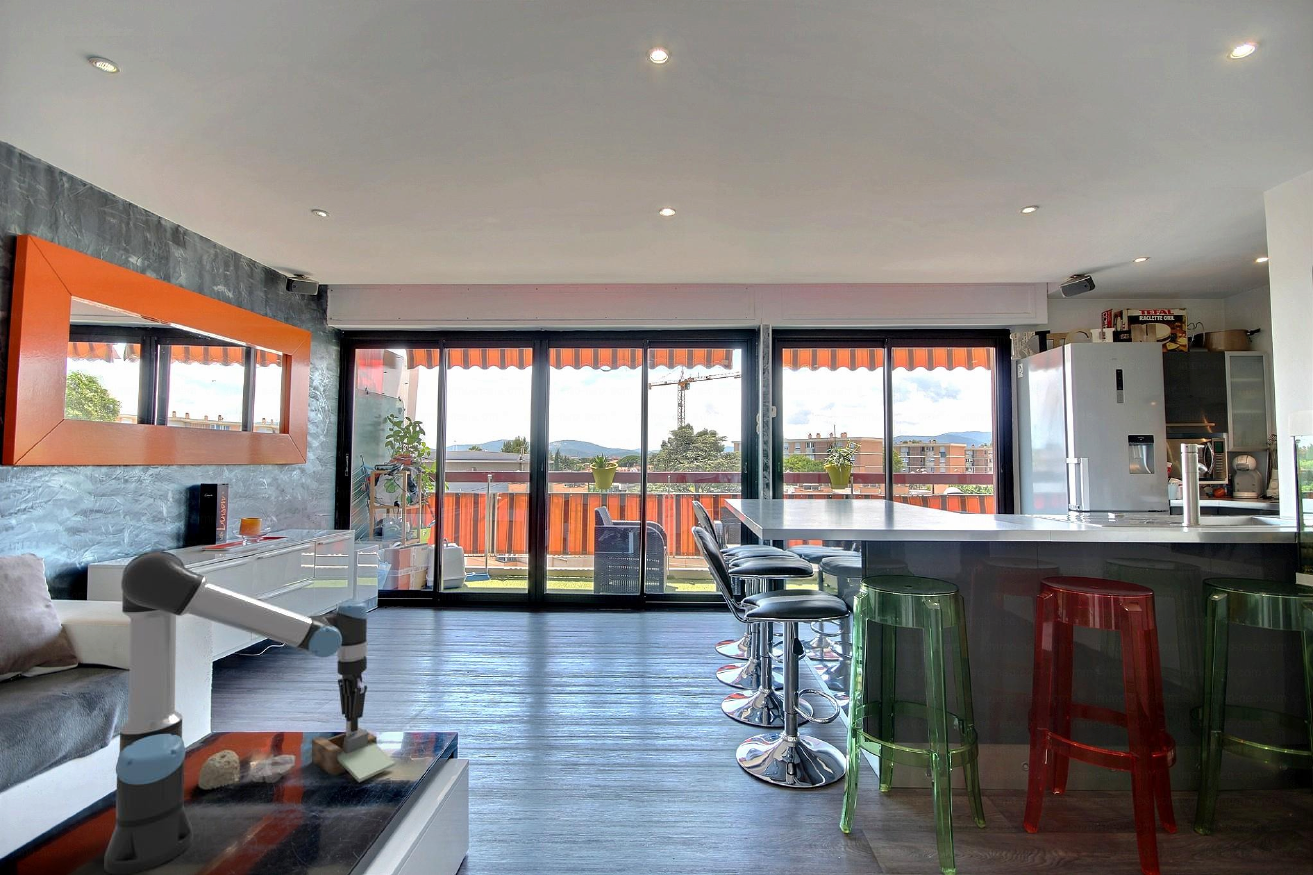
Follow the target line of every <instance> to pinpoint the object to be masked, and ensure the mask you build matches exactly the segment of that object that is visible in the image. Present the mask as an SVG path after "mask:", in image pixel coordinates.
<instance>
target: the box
mask: <svg viewBox="0 0 1313 875" xmlns="http://www.w3.org/2000/svg"><path fill="white" fill-rule="evenodd" d="M362 730H363V729H362V728H360V727H359V726H358V732H360V731H362ZM344 737H346V732H344V733H341V734H337V735H335V736H332V737H329V738H325V737H323V736H317V737H314V738H311V762H312V763H313V764H315V765H316V766H317V767H319V768H320V769H321V770H323V771H324V772H326V773H327V774H329V775H330V776H333V777H335V776H338V775H340V774H343V773H346V772H349V771H348V770H347V769H346V768H345V767H344V766H343V765H342V764H341V763H340V762H339V761H338V760H337V759H336V755H337V754H339V753H342V752H343V744H344ZM377 740H378V739H377V736H376V735H373V734H372V733H370V732H369V735H368V743H369V742H372V741H373V742H374V743H375V744H376V745H377V744H378V742H377ZM377 746H378V745H377Z"/></svg>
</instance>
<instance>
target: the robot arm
mask: <svg viewBox="0 0 1313 875" xmlns="http://www.w3.org/2000/svg"><path fill="white" fill-rule="evenodd" d="M120 583H121V585H120V587H121V590H122V601H121V602H122V604H121V605H122V606H121V609H122V610H121V612H122V613H123V614H124V615H125V616H127V617H128V618H129V619H130V629H129V630H130V632H129V635H130V636H129V637H130V638H129V684H128V689H129V690H128V692H129V693H128V720H127V721H126V722H124V724H123V725H122V726H121V727H119V728H120V729H119V754H118V758H117V761H116V765H115V773H116V793H115V794H116V795H115V796H116V798H115V800H116V801H115V802H116V803H115V806H116V807H115V827H114V830H113V833H112V835H111V838H110V840H109V843H108V846H107V848H106V851H105V854H104V857H103V860H104V861H103V862H104V863H103V869H104V871H106V872H107V873H109V874H112V875H127V874H128V875H129V874H134V873H138V872H141V871H146V870H149V869H152V868H154V867H155V868H156V867H158V866H160V865H162V864H165V863H167V862H168V861H170V860H172V859H175V858H176V857H177V856H179V855H180V854H182V853H183V852H185V851H186V850H187V849H188V848H189V847H190V845H191V844H192V843H193V841H194V840H193V838H194V828H193V825H192V823H191V820H190V819H189V816H188V814H187V811H186V809H185V807H184V806H185V804H184V801H185V800H184V799H185V756H186V746H185V742H184V740H183V715H182V713H179V712H178V711H176V709H175V708H176V706H175V705H176V702H175V701H176V657H177V656H176V654H177V652H176V651H177V650H176V648H177V647H176V644H177V642H176V640H177V639H176V638H177V616H179V617H181V616H184V615H186V614H189V615H192V616H196V617H199V618H201V619H205V620H209V621H211V622H214V623H217V624H221V625H224V626H227V627H231V628H233V629H236V630H240V631H243V632H247V633H250V634H253V635H256V636H260V637H262V638H265V639H269V640H272V641H274V642H275V641H276V642H278V643H282V644H285V645H288V646H291V647H292V648H297V649H300V650H303V651H306V652H308V653H310V654H312V655H313V656H316V657H318V658H328V657H331V656H334V654H337V656H336V657H337V658H336V659H338V660H337V669H336V670H337V674H338V675H339V676H340V675H341V676H342V677H341V678H339V679H337V684H338V688H339V697H340V708H341V715H342V716H344V718H345V721H346V722H345V733H346V737H347V736H349V735H352V734H354V733H357V732H358V727H359V719H360V718H363V715H364V709H365V701H366V693H367V690H368V685H366V684H365V685H364V684H363V677H362V676H363V675H362V674H363V672H365V671H366V670H367V667H368V663H367V661H368V659H367V656H366V655H368V654H367V652H368V651H367V650H368V647H367V646H368V642H367V638H368V637H367V634H368V633H367V631H368V629H367V627H368V614H367V613H368V612H367V611H368V610H367V604H366V603H365V602H363V601H348V602H344V603H340V604H339V605H338V606H337V610H336V612H331V613H326V614H317V615H316V614H315V615H310V616H306V615H303V614H299V613H297V612H294V611H291V610H289V609H285V608H282V607H280V606H276V605H274V604H272V603H269V602H265V601H262V600H259V599H257V598H254V597H250V596H248V595H245V594H243V593H239V592H237V591H234V590H230V589H228V588H225V587H222V586H219V585H217V584H213V583H211V582H209V581H208V580H207V578H206V576H205V575H202V574H200V573H196V572H194V571H192V570H190V569H189V568H187V567H185V564H184V562H183V560H182V559H181V558H180V557H178V556H177V555H176V554H174V553H172V552H169V551H164V550H161V551H160V550H158V551H157V550H153V551H146V552H144V553H140V554H139V555H137V556H136V557H134V558H132V560H130V561H129V562H128V563H127V565H126V566H125V567H124V569H123V571H122V578H121V581H120Z"/></svg>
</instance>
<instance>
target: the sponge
mask: <svg viewBox="0 0 1313 875" xmlns="http://www.w3.org/2000/svg"><path fill="white" fill-rule="evenodd" d="M200 768H201V769H200V771H199V772H198V776H199V777H198V787H199V788H200V789H203V790H209V789H210V790H213V789H212V788H214V789H217V787H218V788H221V787H220V786H222V787H225V786H228V785H227V784H229V785H231V784H233V783H236V782H237V780H238V779H239V778H240V760H239V755H237V753H236V752H235V751H232V750H230V749H226V750H222V751H220V752H217V753H215V754H212V755H211V756H210V757H209V758H207V759H206V760H205V761H204V763H203V764H202V765H201V767H200ZM236 779H237V780H236ZM230 783H231V784H230ZM224 785H225V786H224Z"/></svg>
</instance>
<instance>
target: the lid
mask: <svg viewBox="0 0 1313 875" xmlns="http://www.w3.org/2000/svg"><path fill="white" fill-rule="evenodd" d="M369 733H370V732H369V731H367V729H362V731H360V732H357V733H354V734H352V735H349V736H347V737H344V744H343V752H342V753H339V754H337V755H336V759H337V760H338V761H339V762H340V763H341V764H342V765H343V766H344V767H345V768H346V769H347V770H348V771H347V772H349V774H350V775H351V776H352V777H353V778H354V779H355V780H356V781H357V782H358V783H361V782H363V781H365V780H367V779H369V778H372V777H373V776H377V774H379V773H383V772H384V771H386V770H389V769H391V768H394V767H395V765H396V762H395V761H394V760H393V759H392V758H391V756H388V754H387V753H386V752H385V751H384V750H382V748H381V747H380V746H378V745H376V744H375V743H374V742H373V741H372V742H369V743H368V735H369Z"/></svg>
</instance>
